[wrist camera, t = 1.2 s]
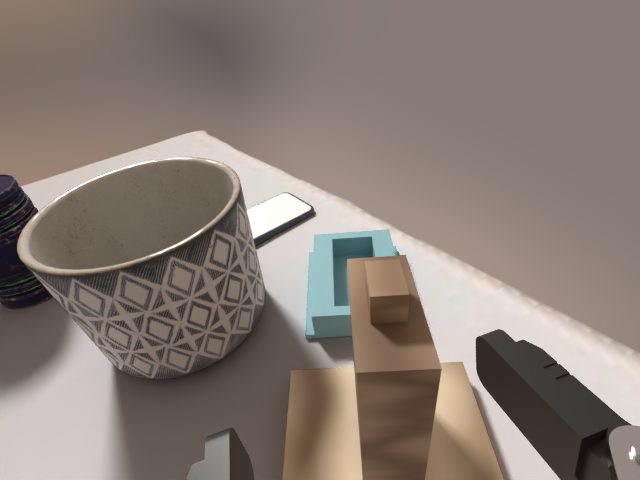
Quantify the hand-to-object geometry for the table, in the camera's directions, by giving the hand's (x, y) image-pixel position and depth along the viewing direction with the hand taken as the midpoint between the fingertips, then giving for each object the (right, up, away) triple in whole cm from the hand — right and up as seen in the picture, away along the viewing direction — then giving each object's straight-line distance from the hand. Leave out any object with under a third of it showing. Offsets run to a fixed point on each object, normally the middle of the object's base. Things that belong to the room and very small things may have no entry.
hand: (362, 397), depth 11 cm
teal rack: (+3, -1, +33) cm, 33 cm away
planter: (-17, -5, +32) cm, 36 cm away
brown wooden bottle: (+4, -10, +17) cm, 20 cm away
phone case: (-11, +7, +47) cm, 48 cm away
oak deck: (+4, -12, +18) cm, 22 cm away
